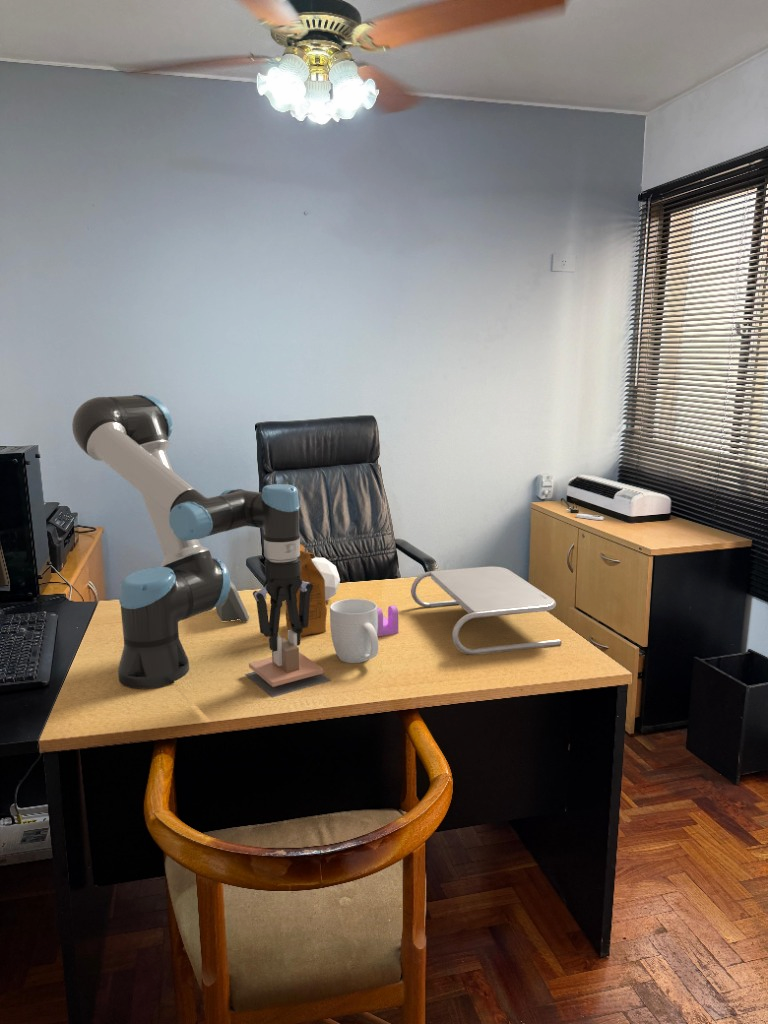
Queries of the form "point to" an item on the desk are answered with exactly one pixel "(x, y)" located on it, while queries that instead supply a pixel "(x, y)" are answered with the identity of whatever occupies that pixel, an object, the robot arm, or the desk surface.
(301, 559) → the coffee package
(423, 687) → the desk surface
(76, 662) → the desk surface
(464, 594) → the monitor stand
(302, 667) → the lid
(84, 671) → the desk surface
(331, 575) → the geodesic sphere
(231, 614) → the digital clock
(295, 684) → the mat
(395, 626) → the bracket
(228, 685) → the desk surface
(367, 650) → the mug
